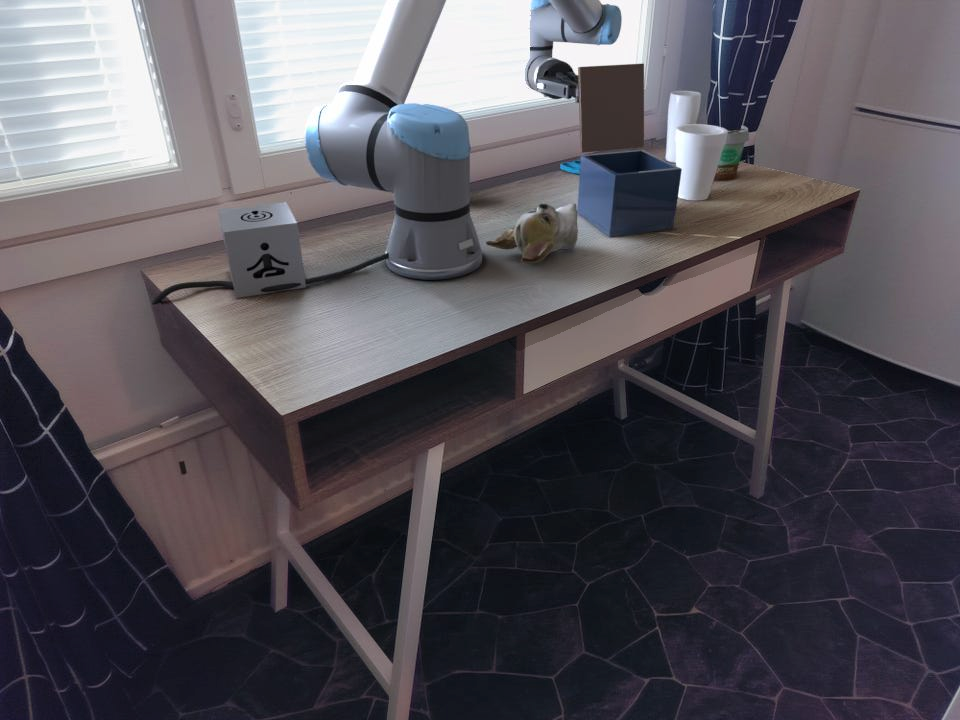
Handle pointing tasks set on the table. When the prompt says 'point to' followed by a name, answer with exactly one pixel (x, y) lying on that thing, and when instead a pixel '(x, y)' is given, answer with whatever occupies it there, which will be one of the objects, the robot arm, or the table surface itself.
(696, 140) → the foam cup
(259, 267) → the icon cube
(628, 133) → the caddy lid
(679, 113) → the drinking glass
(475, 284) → the table surface
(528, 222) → the ceramic sculpture
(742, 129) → the food container
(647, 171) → the box
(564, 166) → the scissors
